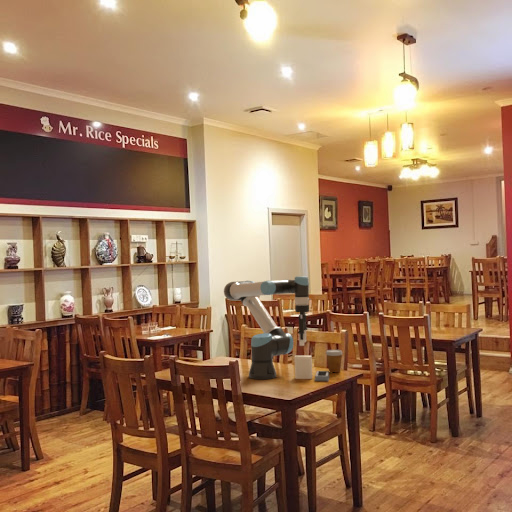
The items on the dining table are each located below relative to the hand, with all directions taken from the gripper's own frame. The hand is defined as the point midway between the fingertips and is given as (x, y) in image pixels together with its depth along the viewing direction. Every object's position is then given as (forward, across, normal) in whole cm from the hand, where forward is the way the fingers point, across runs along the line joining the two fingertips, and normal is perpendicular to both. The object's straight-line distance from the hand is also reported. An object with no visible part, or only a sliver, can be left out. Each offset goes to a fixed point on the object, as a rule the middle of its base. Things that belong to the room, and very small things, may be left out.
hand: (303, 343), depth 298 cm
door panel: (+19, 0, 0) cm, 19 cm away
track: (+18, 0, -10) cm, 21 cm away
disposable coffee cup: (+19, +18, -16) cm, 30 cm away
